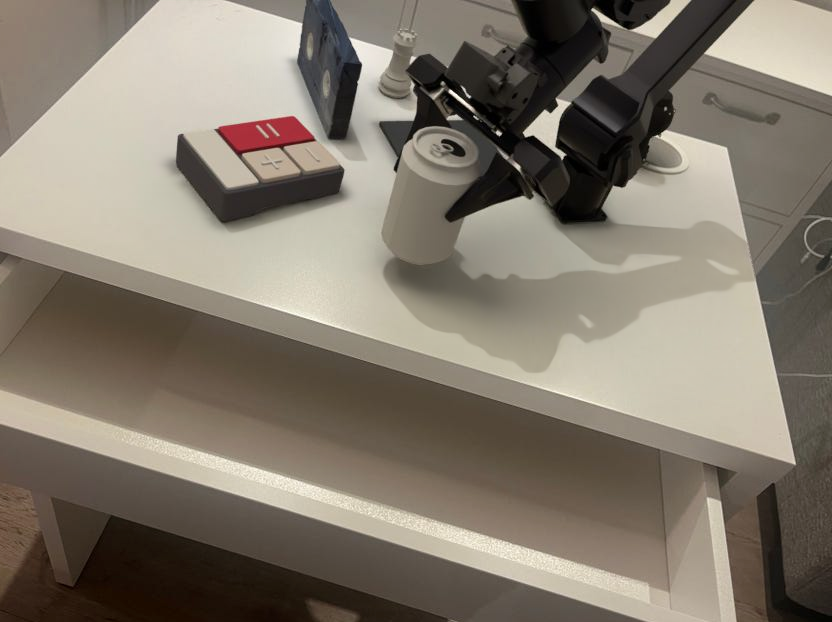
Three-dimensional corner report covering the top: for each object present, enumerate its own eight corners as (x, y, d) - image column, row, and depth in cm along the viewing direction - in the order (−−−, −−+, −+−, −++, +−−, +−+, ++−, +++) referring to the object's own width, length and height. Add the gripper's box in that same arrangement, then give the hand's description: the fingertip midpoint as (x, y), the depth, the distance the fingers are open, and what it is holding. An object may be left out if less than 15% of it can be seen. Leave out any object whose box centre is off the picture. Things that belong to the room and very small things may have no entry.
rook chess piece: (379, 78, 105) (392, 21, 99) (410, 86, 105) (425, 29, 99) (375, 94, 101) (388, 36, 96) (408, 102, 102) (423, 45, 96)
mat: (475, 123, 101) (476, 119, 101) (514, 177, 94) (516, 174, 94) (378, 124, 97) (379, 121, 96) (412, 182, 90) (413, 178, 89)
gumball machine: (658, 172, 102) (696, 105, 94) (622, 175, 100) (659, 106, 92) (630, 143, 106) (665, 76, 98) (595, 145, 103) (629, 77, 96)
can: (465, 258, 77) (503, 158, 68) (408, 278, 74) (440, 176, 65) (421, 214, 81) (452, 114, 72) (365, 231, 77) (389, 128, 68)
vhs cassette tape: (347, 140, 93) (363, 63, 86) (323, 139, 92) (338, 62, 85) (317, 62, 104) (329, -11, 97) (296, 61, 103) (306, -13, 96)
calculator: (348, 164, 83) (226, 188, 75) (339, 196, 86) (221, 222, 78) (295, 110, 88) (176, 127, 80) (289, 143, 91) (174, 162, 83)
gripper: (446, -38, 66) (324, 100, 69) (603, 71, 58) (457, 223, 60) (483, 37, 76) (375, 155, 79) (622, 139, 67) (495, 267, 70)
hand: (420, 195), depth 72 cm, fingers closed on can, 7 cm apart
